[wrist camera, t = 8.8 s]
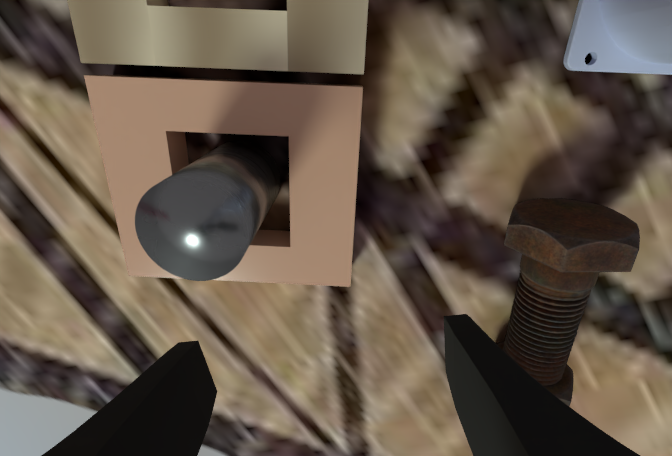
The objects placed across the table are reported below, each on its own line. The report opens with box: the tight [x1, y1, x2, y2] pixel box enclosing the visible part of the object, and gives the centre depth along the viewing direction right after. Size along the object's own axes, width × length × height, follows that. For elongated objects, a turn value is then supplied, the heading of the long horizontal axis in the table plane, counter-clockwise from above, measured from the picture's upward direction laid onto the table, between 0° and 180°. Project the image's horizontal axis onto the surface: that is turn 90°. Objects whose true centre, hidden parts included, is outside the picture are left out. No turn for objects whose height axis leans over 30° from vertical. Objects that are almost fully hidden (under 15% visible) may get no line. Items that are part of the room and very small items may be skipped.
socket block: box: [84, 75, 363, 287], centre depth 18 cm, size 12×10×2 cm
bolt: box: [497, 198, 640, 406], centre depth 20 cm, size 6×5×15 cm
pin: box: [135, 140, 281, 281], centre depth 16 cm, size 4×4×7 cm
